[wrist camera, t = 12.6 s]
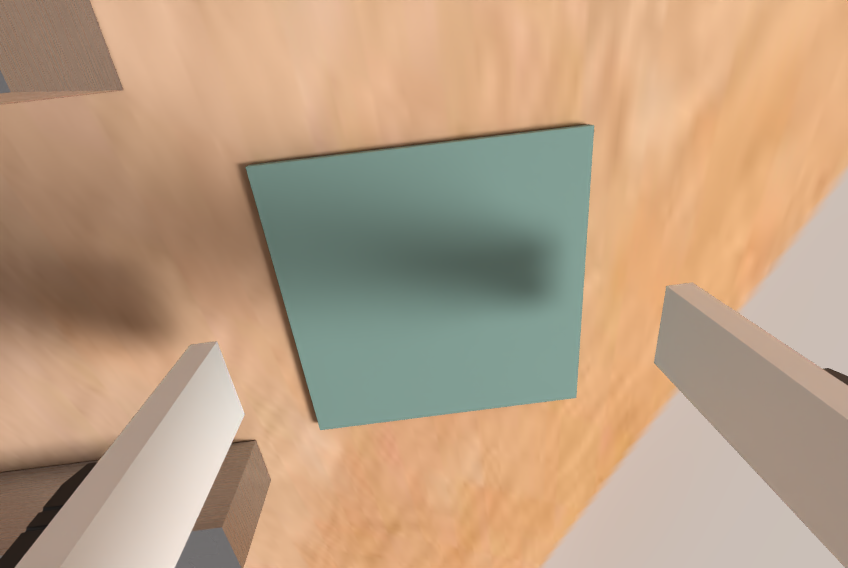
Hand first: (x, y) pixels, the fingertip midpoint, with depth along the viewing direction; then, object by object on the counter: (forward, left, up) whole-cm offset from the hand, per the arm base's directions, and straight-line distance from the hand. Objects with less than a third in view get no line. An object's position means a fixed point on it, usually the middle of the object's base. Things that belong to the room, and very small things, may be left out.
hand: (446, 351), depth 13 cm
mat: (0, 0, -4) cm, 4 cm away
